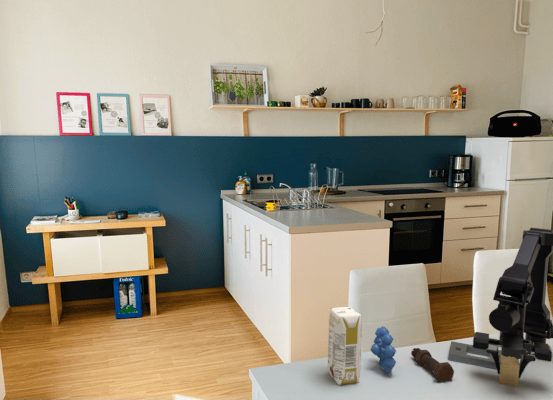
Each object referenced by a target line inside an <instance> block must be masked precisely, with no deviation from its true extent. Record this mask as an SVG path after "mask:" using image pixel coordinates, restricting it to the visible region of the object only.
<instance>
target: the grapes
mask: <svg viewBox="0 0 553 400" xmlns="http://www.w3.org/2000/svg"><path fill="white" fill-rule="evenodd" d="M374 334H375V338H374V339H373V344H372V345H371V346H370V351H371V353H372V354H373V355H374V356H376V357H377V358H378V363H377V364H378V365H379V367H380V368H381V369H382V370H383V371H385V372H386V373H387V374H390V373H391V372H392V370H393V368H394V367H395V365H396V363H397V361H396V359H395V358H394V357H395V354H396V353H397V350H396V348H395V347H394V346H393V345H392V343H393V341H394V337H393V336H392V334H390V331H389V330H388V328H387V327H385V326H384V325H383V326H381V327H377V328H376V330H375V333H374Z"/></svg>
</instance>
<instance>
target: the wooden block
mask: <svg viewBox="0 0 553 400" xmlns="http://www.w3.org/2000/svg"><path fill="white" fill-rule="evenodd" d="M519 363H520V359H516V358H513V357H505V356H502V355H500V374H498V383H499V384H502V385H507V386H511V387H517V388H518V387H519V380H520V379H519V366H520V365H519Z"/></svg>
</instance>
